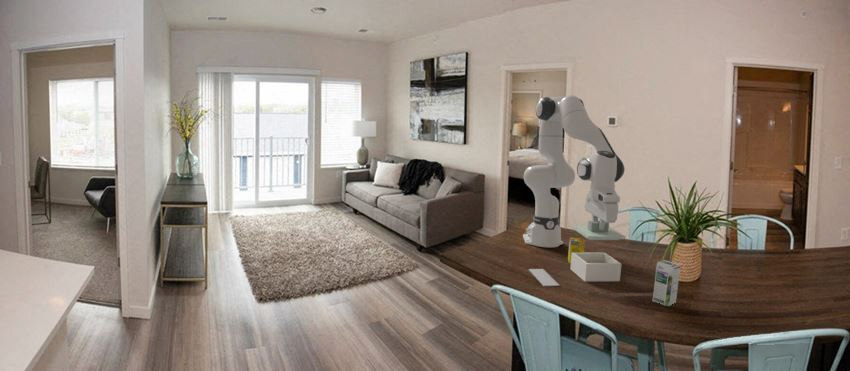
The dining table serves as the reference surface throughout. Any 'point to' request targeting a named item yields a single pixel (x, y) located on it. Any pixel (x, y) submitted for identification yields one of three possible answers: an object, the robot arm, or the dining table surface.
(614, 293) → the dining table surface
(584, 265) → the storage box
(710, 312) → the dining table surface
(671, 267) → the syrup box
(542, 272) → the rubber mat
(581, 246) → the supplement box
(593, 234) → the lid
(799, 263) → the dining table surface
